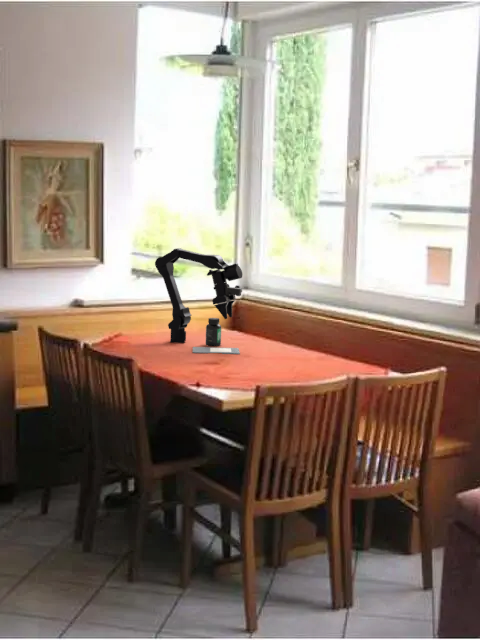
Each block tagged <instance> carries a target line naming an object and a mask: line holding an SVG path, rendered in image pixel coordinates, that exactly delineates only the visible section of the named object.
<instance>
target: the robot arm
mask: <svg viewBox="0 0 480 640" xmlns="http://www.w3.org/2000/svg"><path fill="white" fill-rule="evenodd" d="M179 259H183V260H187V261H190V262H195V263H199V264H201V265H202V266H204V267H207V268H209V269H208V270H209V271H208V272H207V274H206V276H211V277H212V281H213V282H212V283H213V287H212V288H213V290H214V291H215V294H216V296H215V297H213V299H212V300H211V301H212V305H214V307H215V308H216V309H217V310H218V311H219V313H220V314H221V316H222V317H223V318H224V320H226V319H228V317H229V318H233V304H234V303H235V301H236V299H237V298H236V296H237V297H241V296H242V293H243V289H242V288H241V286H240V285H238V284H237V285H235V286H234V287H232V286H230V284H229V283H227V281H228V282H232V281H235V280H239V279H242V278H243V271H242V269H241V267H240V266H239V263H238V262H237V263H236V262H235V263H233V264H231V265H229V264H228V263H227V262H226V261H225V260H224V258H223V256H222V255H220V254H203V253H199V252H195V251H191V250H186V249H183V248H182V247H181V248H180V247H178V248H174V249H173V250H171V251H169V252H168V253H167V254H164V255H163V256H160V257H157V258H156V259H155V262H154V267H155V268H156V270H157V272H158V273H159V274H160V276H161V277H162V278H163V281H164V285H165V288H166V291H167V294H168V297H169V301H170V303H171V306H172V314H171V316H172V320H171V321H170V322H169V323H168V324H167V326H168V329H169V330H170V339H169V342H170V343H173V344H175V343H179V344H184V343H185V342H186V341H187V331H186V328H187V327H188V324H190V322H191V320H192V317H191V316H192V314H191V311H190V308H189V306H188V307H186V306H185V305H184V303H183V301H182V298H181V294H180V292H179V288H178V285H177V283H176V279H175V276H174V272H175V271H174V268H175V267H174V264H175V263H176V262H177V261H178V260H179Z"/></svg>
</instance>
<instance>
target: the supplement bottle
mask: <svg viewBox="0 0 480 640" xmlns="http://www.w3.org/2000/svg"><path fill="white" fill-rule="evenodd" d="M207 322H208V323H207V324H206V325H205V326H206V327H205V346H207V345H208V346H207V347H221V346H222V324H220V318H218V317H209V318H208V321H207Z"/></svg>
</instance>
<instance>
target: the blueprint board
mask: <svg viewBox="0 0 480 640" xmlns="http://www.w3.org/2000/svg"><path fill="white" fill-rule="evenodd" d="M208 353H222V354H221V355H240V354H241V352H240V348H239V347H220V346H192V354H208Z"/></svg>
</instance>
